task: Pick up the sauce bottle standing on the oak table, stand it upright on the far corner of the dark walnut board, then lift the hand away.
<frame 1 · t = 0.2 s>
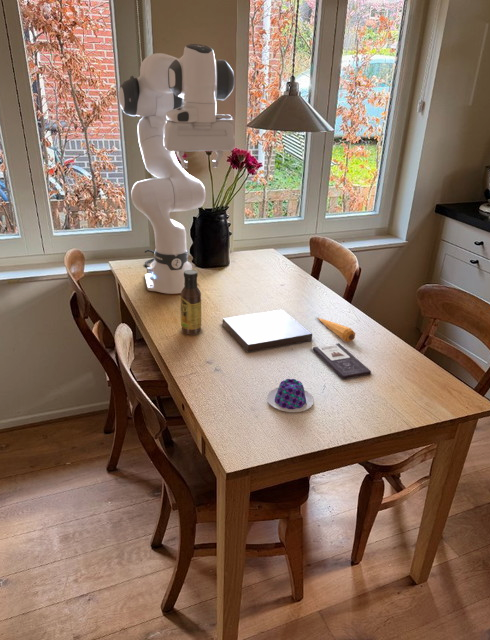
hand: (200, 167, 152), 48 cm above the table, tool pointing down, fingers open, 8 cm apart
carrot: (334, 331, 175), on the table
chocolate bar: (340, 362, 156), on the table
walnut board: (266, 332, 170), on the table
sauce bottle: (191, 332, 168), on the table
pudding: (290, 401, 137), on the table
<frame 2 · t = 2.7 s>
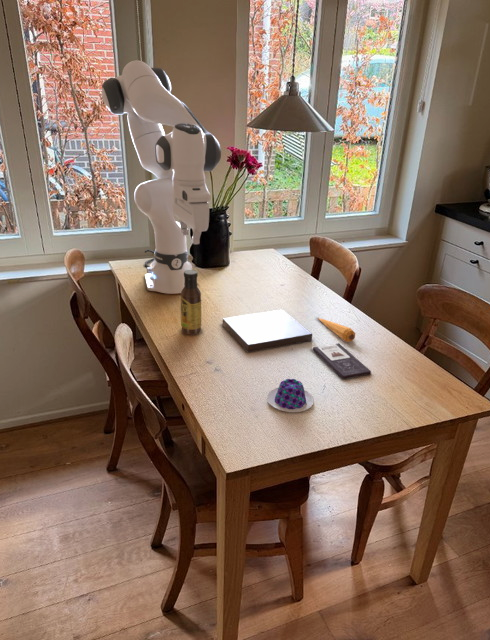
hand: (190, 239, 153), 30 cm above the table, tool pointing down, fingers open, 8 cm apart
nothing on the table moved.
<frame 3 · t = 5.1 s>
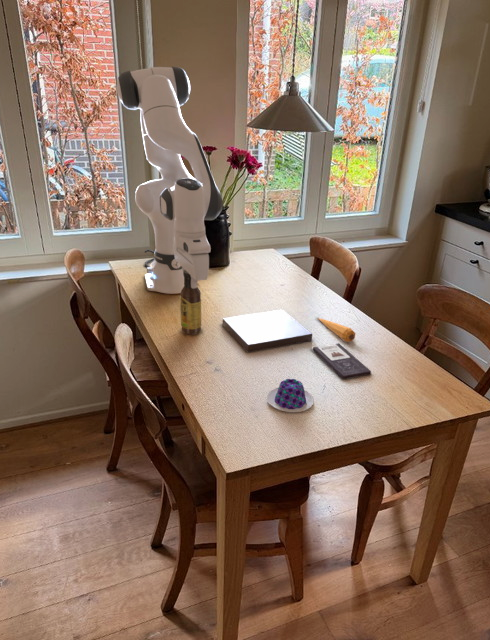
hand: (190, 284, 160), 16 cm above the table, tool pointing down, fingers closed on sauce bottle, 4 cm apart
sauce bottle: (191, 331, 168), on the table, touching gripper
everything else where it was.
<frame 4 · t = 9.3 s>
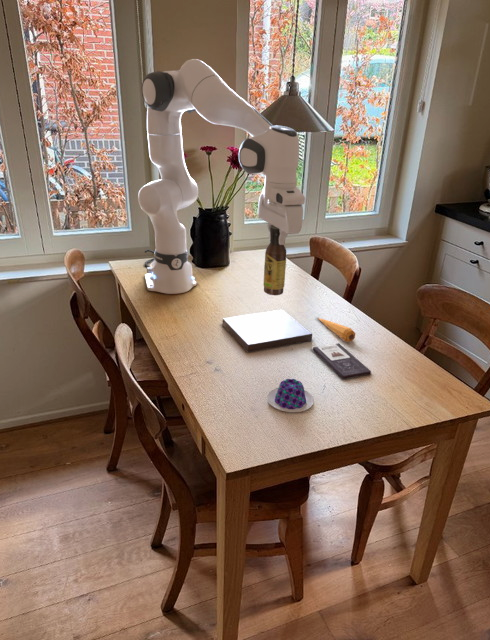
hand: (276, 241, 153), 30 cm above the table, tool pointing down, fingers closed on sauce bottle, 4 cm apart
sauce bottle: (273, 293, 161), point 15 cm above the table, touching gripper
everything else where it was.
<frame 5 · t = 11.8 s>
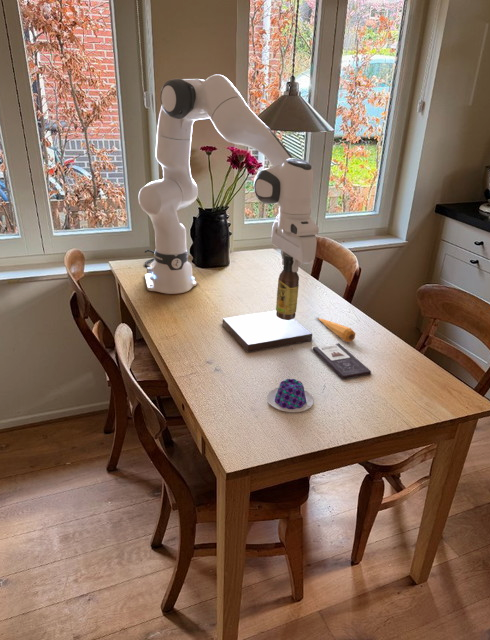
hand: (290, 268, 157), 23 cm above the table, tool pointing down, fingers closed on sauce bottle, 4 cm apart
sauce bottle: (285, 317, 165), point 7 cm above the table, touching gripper
everything else where it was.
when the fingers open (18 cm above the table, at t = 13.5 s): sauce bottle stays where it is, resting on walnut board.
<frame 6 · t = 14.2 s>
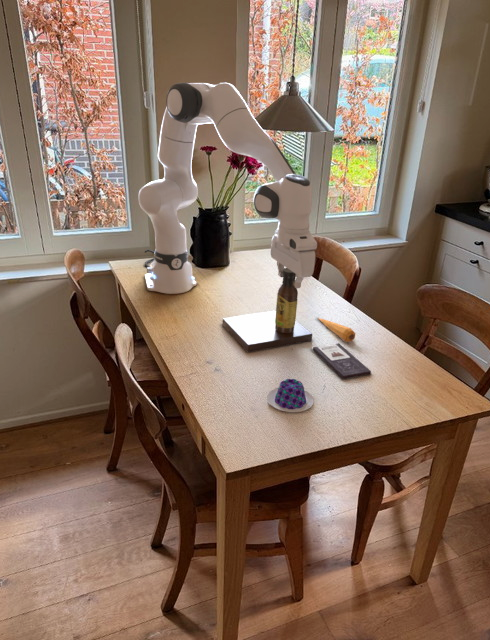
hand: (289, 281, 159), 19 cm above the table, tool pointing down, fingers open, 8 cm apart
sauce bottle: (284, 330, 167), point 2 cm above the table, touching walnut board
everything else where it was.
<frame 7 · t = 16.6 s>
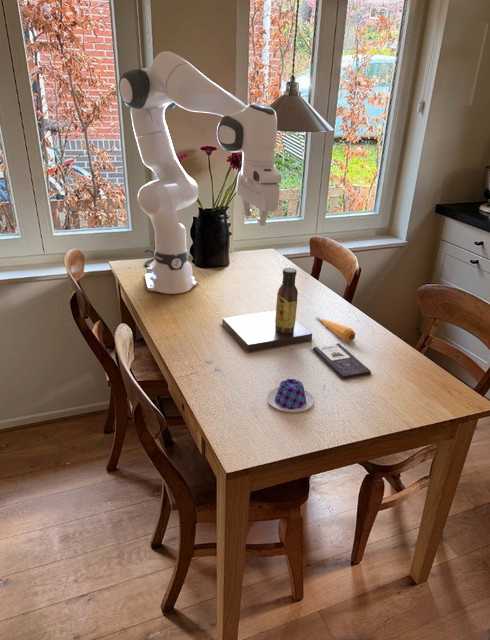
hand: (254, 220, 154), 35 cm above the table, tool pointing down, fingers open, 8 cm apart
nothing on the table moved.
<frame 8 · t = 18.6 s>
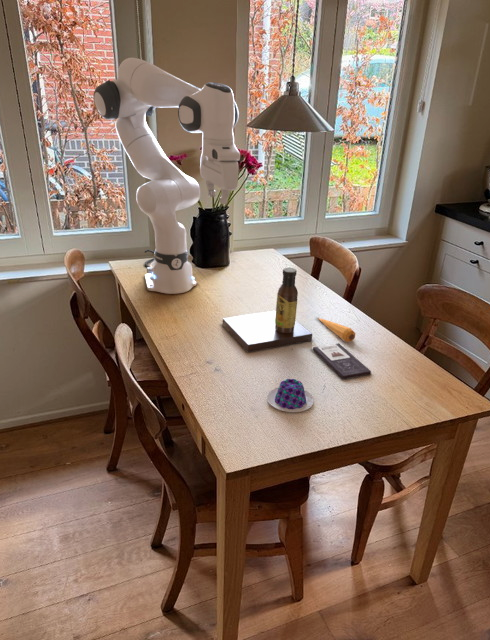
hand: (217, 200, 156), 39 cm above the table, tool pointing down, fingers open, 8 cm apart
nothing on the table moved.
at the end: sauce bottle inside the target area (0.3 cm from its centre), point 2.3 cm above the table; sauce bottle tilted 0°; sauce bottle touching walnut board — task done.
